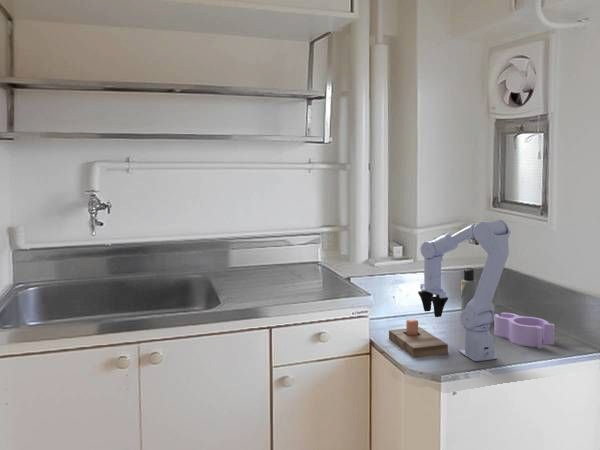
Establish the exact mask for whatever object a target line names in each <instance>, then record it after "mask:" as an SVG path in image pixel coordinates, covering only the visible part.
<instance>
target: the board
mask: <svg viewBox="0 0 600 450" xmlns="http://www.w3.org/2000/svg"><path fill="white" fill-rule="evenodd" d="M388 339H389V340H390V341H392V342H393V343H394V344H395V345H397V346H398V347H399V348H401V349H402V350H404V351H405V352H406V353H408V354H409V355H410V356H411V357H413V358H419V357H428V356H435V355H436V356H437V355H444V354H446V355H447V354H448V353H449V351H448V350H449V344H448V343H446V342H445V341H443V340H441V339H440V338H438V337H437V336H435V335H434V334H432V333H430V331H429V332H428V331H427V330H425V328H422V327H421V326H418V335H417V336H407V335H406V328H397V329H390V330H389V329H388Z"/></svg>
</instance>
